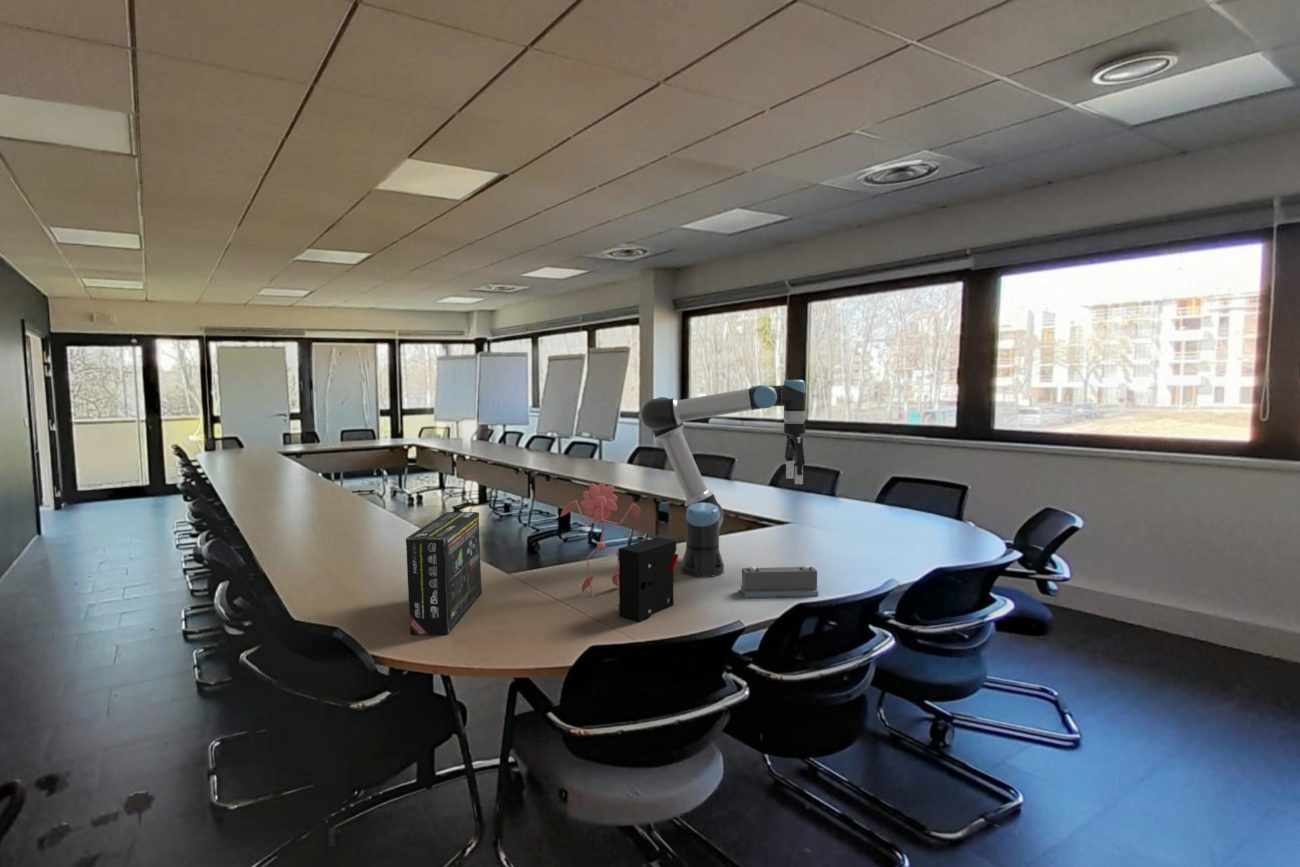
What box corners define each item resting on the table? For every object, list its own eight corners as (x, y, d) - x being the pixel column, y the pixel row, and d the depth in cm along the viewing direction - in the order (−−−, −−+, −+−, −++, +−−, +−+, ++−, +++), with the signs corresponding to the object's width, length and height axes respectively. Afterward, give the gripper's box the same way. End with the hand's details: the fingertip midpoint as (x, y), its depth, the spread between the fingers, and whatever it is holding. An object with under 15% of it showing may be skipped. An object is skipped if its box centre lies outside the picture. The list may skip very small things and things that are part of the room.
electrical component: (652, 599, 208) (652, 536, 207) (678, 606, 202) (678, 541, 200) (613, 615, 195) (613, 547, 193) (640, 623, 188) (640, 553, 187)
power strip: (744, 591, 212) (745, 572, 211) (741, 586, 217) (742, 568, 216) (816, 589, 213) (817, 571, 212) (812, 584, 218) (812, 566, 217)
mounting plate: (745, 597, 210) (746, 570, 209) (740, 589, 218) (741, 563, 217) (818, 595, 211) (818, 568, 211) (810, 588, 219) (811, 561, 219)
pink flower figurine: (645, 590, 217) (644, 482, 215) (567, 600, 208) (564, 487, 206) (630, 578, 231) (628, 477, 229) (556, 587, 222) (554, 481, 220)
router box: (448, 593, 215) (445, 511, 213) (482, 593, 215) (480, 511, 213) (406, 636, 179) (403, 537, 177) (448, 636, 179) (445, 537, 177)
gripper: (814, 424, 230) (813, 486, 232) (796, 420, 255) (796, 476, 256) (792, 425, 230) (791, 486, 231) (776, 420, 255) (776, 476, 256)
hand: (794, 481), depth 244 cm, fingers open, 13 cm apart
